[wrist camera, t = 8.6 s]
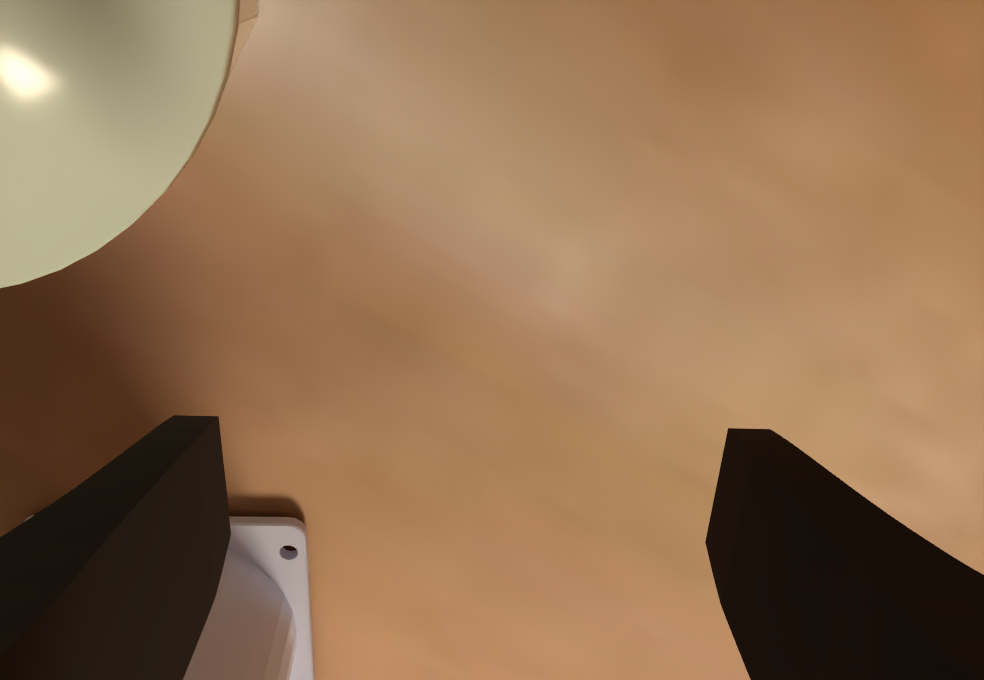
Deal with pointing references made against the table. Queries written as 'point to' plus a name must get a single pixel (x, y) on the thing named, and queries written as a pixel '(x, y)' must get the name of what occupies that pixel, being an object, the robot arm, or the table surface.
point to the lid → (99, 117)
